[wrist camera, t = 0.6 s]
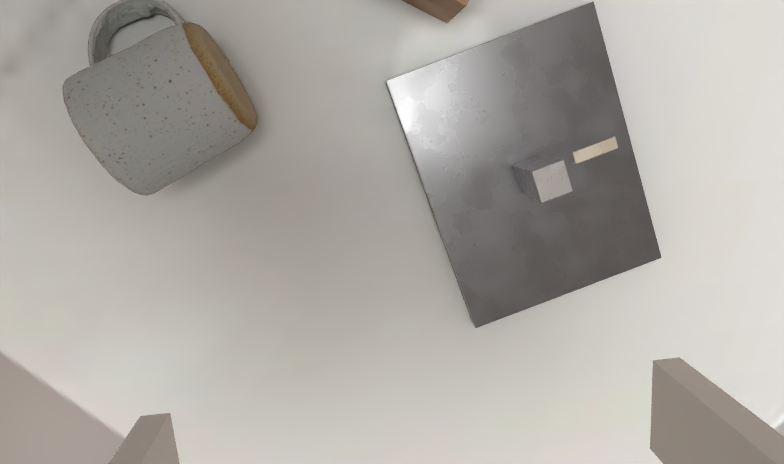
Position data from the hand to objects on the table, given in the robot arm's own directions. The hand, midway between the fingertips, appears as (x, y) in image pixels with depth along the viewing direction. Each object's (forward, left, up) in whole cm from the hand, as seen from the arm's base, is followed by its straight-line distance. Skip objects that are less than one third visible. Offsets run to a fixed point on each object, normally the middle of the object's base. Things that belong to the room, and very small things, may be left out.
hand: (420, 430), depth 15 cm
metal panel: (0, +11, -24) cm, 26 cm away
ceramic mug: (-14, -9, -24) cm, 29 cm away
